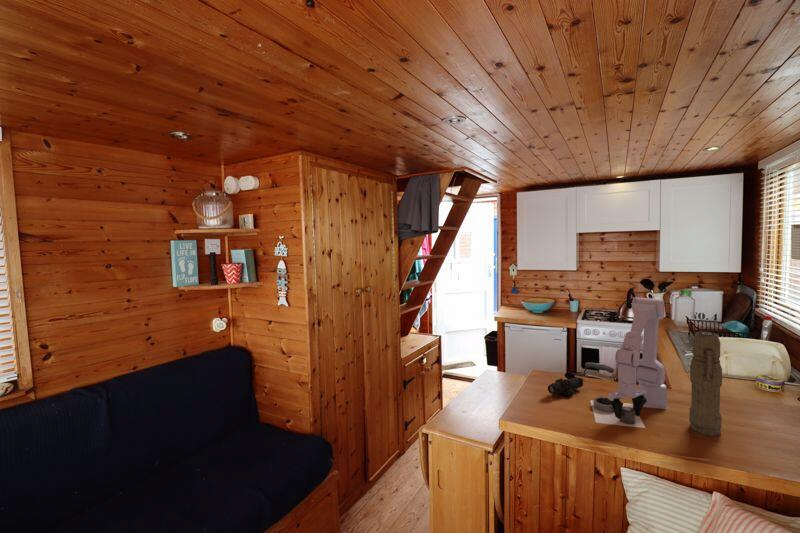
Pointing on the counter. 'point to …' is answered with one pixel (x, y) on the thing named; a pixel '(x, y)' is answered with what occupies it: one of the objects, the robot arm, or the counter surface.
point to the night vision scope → (566, 385)
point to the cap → (627, 415)
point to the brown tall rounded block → (706, 385)
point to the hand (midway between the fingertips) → (627, 416)
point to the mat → (611, 419)
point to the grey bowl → (602, 404)
